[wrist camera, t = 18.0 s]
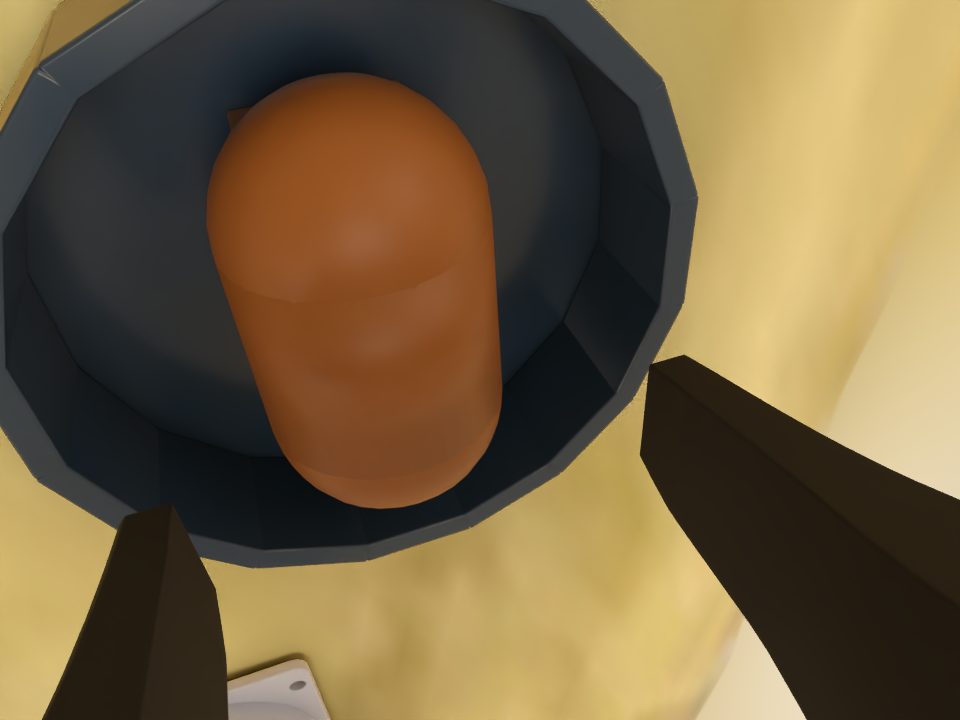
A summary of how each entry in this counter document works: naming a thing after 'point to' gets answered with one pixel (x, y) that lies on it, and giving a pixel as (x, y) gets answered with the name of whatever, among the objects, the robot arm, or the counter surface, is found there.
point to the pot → (198, 288)
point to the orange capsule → (362, 284)
